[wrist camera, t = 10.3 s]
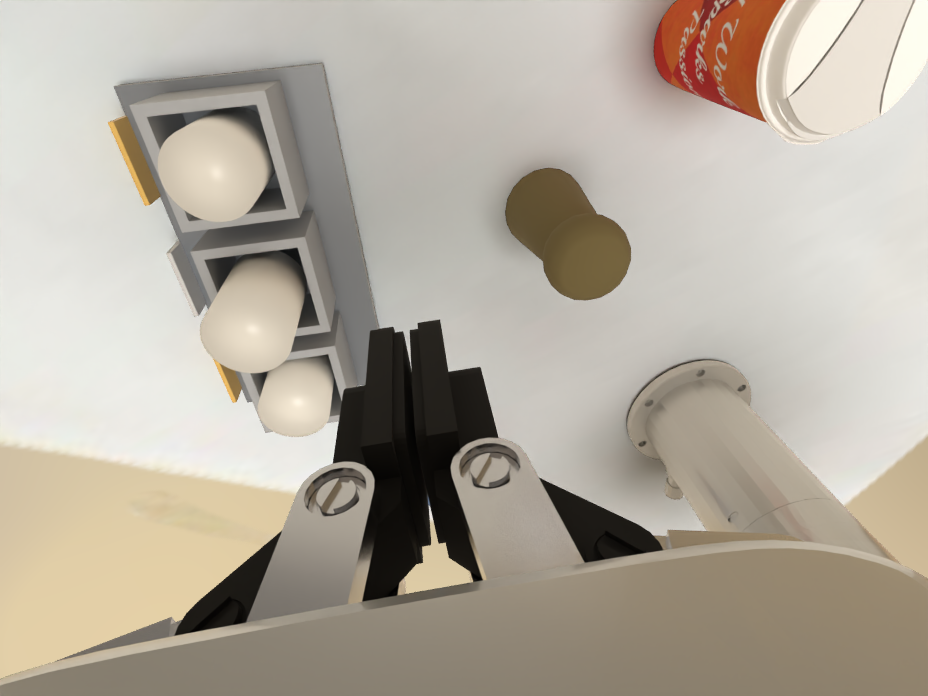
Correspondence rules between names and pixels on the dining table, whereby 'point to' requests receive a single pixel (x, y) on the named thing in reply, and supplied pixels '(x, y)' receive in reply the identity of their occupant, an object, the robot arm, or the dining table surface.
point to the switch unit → (265, 209)
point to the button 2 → (297, 396)
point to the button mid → (255, 313)
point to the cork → (568, 234)
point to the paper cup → (796, 59)
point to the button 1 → (217, 164)
